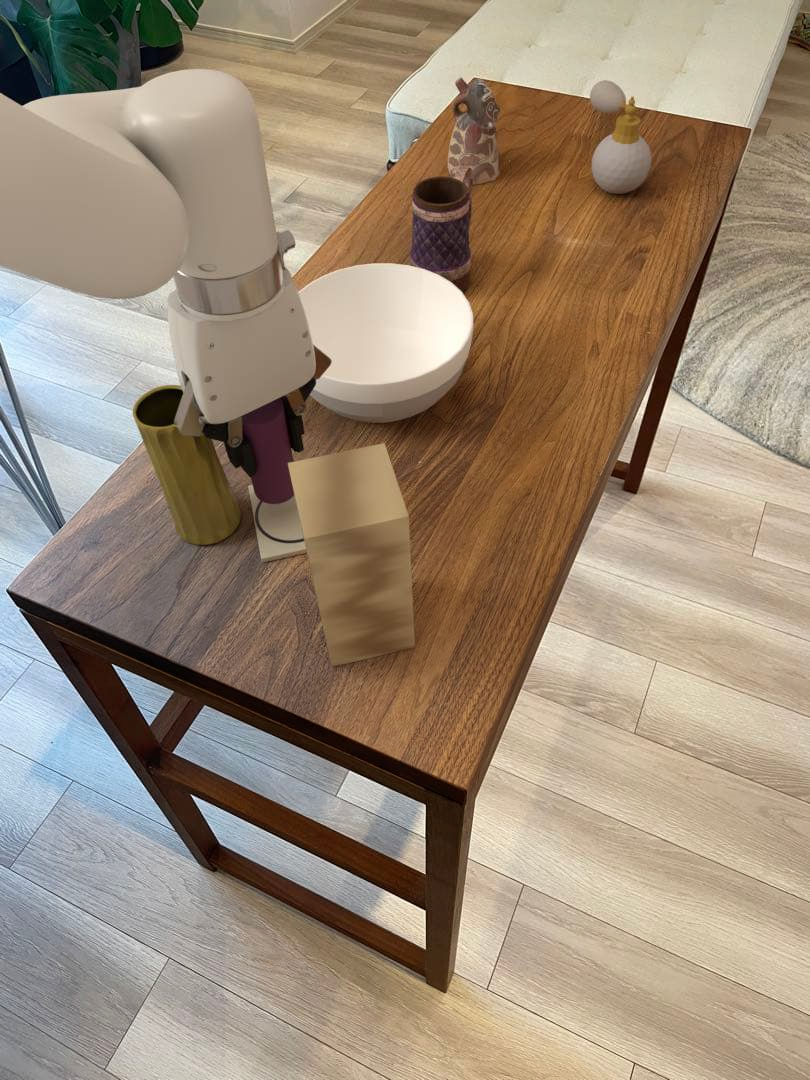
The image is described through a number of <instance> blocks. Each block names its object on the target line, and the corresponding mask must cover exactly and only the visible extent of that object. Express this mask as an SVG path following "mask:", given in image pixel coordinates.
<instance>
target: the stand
mask: <svg viewBox="0 0 810 1080" xmlns="http://www.w3.org/2000/svg"><path fill="white" fill-rule="evenodd" d="M288 467H289V472H290V477H291V482H292V486H293V491H294V496H295V500H296V505H297V510H298V514H299V519H300V524H301V529H302V533H303V538H304V543H305V547H306V552H307V553H306V556H307V561H308V566H309V571H310V575H311V579H312V584H313V585H312V586H313V588H314V594H315V598H316V603H317V608H318V612H319V616H320V621H321V625H322V630H323V634H324V639H325V643H326V648H327V652H328V657H329V660H330V665H331V667H332V668H335V667H338V666H342V665H347V664H351V663H354V662H359V661H363V660H367V659H371V658H376V657H381V656H384V655H389V654H393V653H398V652H401V651H402V652H403V651H405V650H409V649H414V648H416V639H415V637H416V636H415V634H416V633H415V616H414V615H415V614H414V599H413V598H414V595H413V594H414V593H413V574H412V555H411V553H412V552H411V534H410V533H411V532H410V515H409V512H408V509H407V506H406V504H405V500H404V498H403V494H402V491H401V488H400V485H399V481H398V479H397V476H396V473H395V470H394V467H393V463H392V461H391V458H390V455H389V452H388V449H387V445H386V443H385V442H384V443H379V444H374V445H369V446H364V447H358V448H355V449H350V450H345V451H340V452H339V451H338V452H334V453H329V454H324V455H320V456H314V457H310V458H305V459H301V460H294V462H290V463H288Z"/></svg>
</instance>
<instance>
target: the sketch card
mask: <svg viewBox="0 0 810 1080" xmlns="http://www.w3.org/2000/svg"><path fill="white" fill-rule="evenodd" d="M247 489H248V493H249V499H250V505H251V511H252V515H253V521H254V527H255V533H256V538H257V544H258V549H259V555H260V560H261V563H266V562H271V561H272V562H273V561H276V560H280V559H281V560H282V559H286V558H290V557H294V556H299V555H304V554H307V552H306V547H305V543H304V538H303V533H302V529H301V524H300V519H299V514H298V510H297V505H296V500H295V496H293V497H292V498H291V499H290V500H288V501H286V502H284V503H280V504H268V503H264V502H262V501H261V500H259V499H258V498H257V497H256V495H255V492H254V488H253V484H250V485H248V486H247Z"/></svg>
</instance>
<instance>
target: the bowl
mask: <svg viewBox="0 0 810 1080" xmlns="http://www.w3.org/2000/svg"><path fill="white" fill-rule="evenodd" d="M298 293H299V296H300V299H301V302H302V305H303V308H304V311H305V314H306V317H307V321H308V324H309V328H310V333H311V337H312V342H313V344H314V345H315V346H317V347H318V348H319V349H320V350H322V351H323V352H324V353H325V354H326V355H327V356H328V357H329V358H330V359H331V365H330V366H329V368H328V369H327V370H326V371H325V372H324V373H323V375H322V376H321V377H320V378H319V379H317V380H316V385H315V387H314V389H313V390H312V392H311V393H310V395H309V397H311V398H312V399H313V400H315V401H316V402H317V403H318V404H320V405H322V406H323V407H324V408H326V409H327V410H328V411H331V412H333V413H334V414H336V415H338V416H341V417H343V418H346V419H349V420H352V421H358V422H363V423H373V424H376V423H377V424H386V423H392V422H397V421H401V420H405V419H408V418H411V417H414V416H416V415H418V414H419V415H420V414H421V413H423V412H425V411H426V410H428V409H429V408H431V407H433V405H435V404H436V403H438V402H439V401H440V400H441V399H442V398H443V397H444V396H445V395H446V394H447V393H448V392H450V390H451V389H452V388H453V387H454V386H455V385H456V384H457V382H458V380H459V378H460V377H461V376H462V374H463V370H464V367H465V365H466V362H467V359H468V357H469V354H470V350H471V347H472V342H473V334H474V333H473V332H474V326H475V325H474V312H473V309H472V307H471V303H470V302H469V300H468V299H467V298H466V296H465V294H464V292H462V291H460V290H459V289H458V288H457V287H456V286H455V285H454V284H453V283H452V282H450V281H448V280H447V279H445V278H443V277H442V276H440V275H438V274H435V273H433V272H430V271H428V270H425V269H422V268H417V267H413V266H410V264H400V263H391V262H389V263H387V262H386V263H384V262H383V263H381V262H379V263H378V262H377V263H376V262H375V263H366V264H356V265H352V266H348V267H345V268H340V269H337V270H335V271H332V272H330V273H329V272H328V273H327V274H324V275H322V276H320V277H317V279H315V280H313V281H311V282H309V283H308V284H306V285H305V286H304V287H303V288H301V289H300V290H299V291H298Z"/></svg>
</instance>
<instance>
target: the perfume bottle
mask: <svg viewBox="0 0 810 1080" xmlns="http://www.w3.org/2000/svg"><path fill="white" fill-rule="evenodd" d="M589 101H590V102H589V103H590V104H591V106H592V108H594V109H595V110H596V111H598V112H600V113H602V114H611V115H612V114H617V113H619V112H622V111H623V110H624V112H625V114H621V115H619V116H618V117H617V118H616V121H615V128H614V130H613V132H612V133H610V134H609V135H607V136H606V137H604V138H603V139H602V140H601V141H600V142H599V143H598V145H597V146H596V148H595V150H594V152H593V155H592V158H591V167H590V169H591V173H592V177H593V179H594V181H595V183H596V184H597V185H598V186H599V187H600V189H601V190H603V191H605V192H607V193H609V194H615V195H622V194H627V193H630V192H633V191H635V190H636V189H637V188H638V187H639V186H641V185H642V184H643V183H644V181H645V180H646V178H647V177H648V175H649V172H650V170H651V166H652V154H651V150H650V146H649V145H648V143H647V141H646V140H645V139H644V138H643V137H642V136H641V135H640V134H639V130H640V126H641V118H640V117H639V116H637V115H634V114H635V113H636V112H637V106H636V105H635V104H636V100H635V96H630V98H629V99H628V104H627V97H626V95H625V93H624V91H623V89H622V88H621V87H620V86H619V85H618V84H617V83H615V82H613V81H611V80H606V79H603V80H599V81H598V82H596V83H595V84H594V85H593V86H592V88H591V90H590V92H589Z"/></svg>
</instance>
